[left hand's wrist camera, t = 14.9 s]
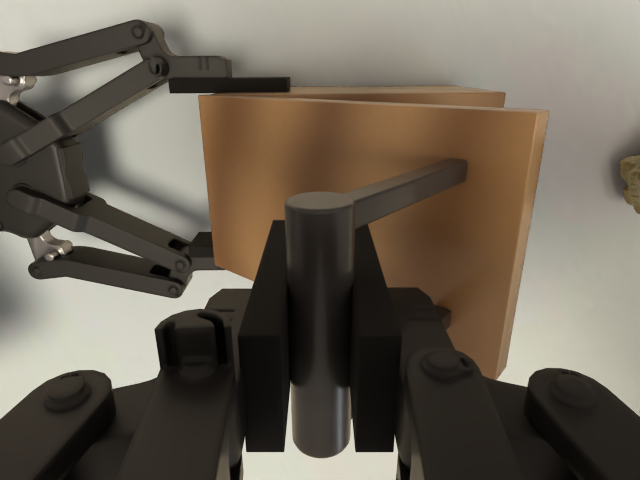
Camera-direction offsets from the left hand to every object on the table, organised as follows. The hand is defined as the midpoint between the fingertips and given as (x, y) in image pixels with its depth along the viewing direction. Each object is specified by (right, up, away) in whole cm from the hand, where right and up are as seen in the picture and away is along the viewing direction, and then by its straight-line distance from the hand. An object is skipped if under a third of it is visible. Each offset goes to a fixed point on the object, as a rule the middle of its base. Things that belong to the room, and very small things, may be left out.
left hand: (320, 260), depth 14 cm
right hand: (-2, +5, +13) cm, 14 cm away
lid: (+1, +2, +5) cm, 6 cm away
